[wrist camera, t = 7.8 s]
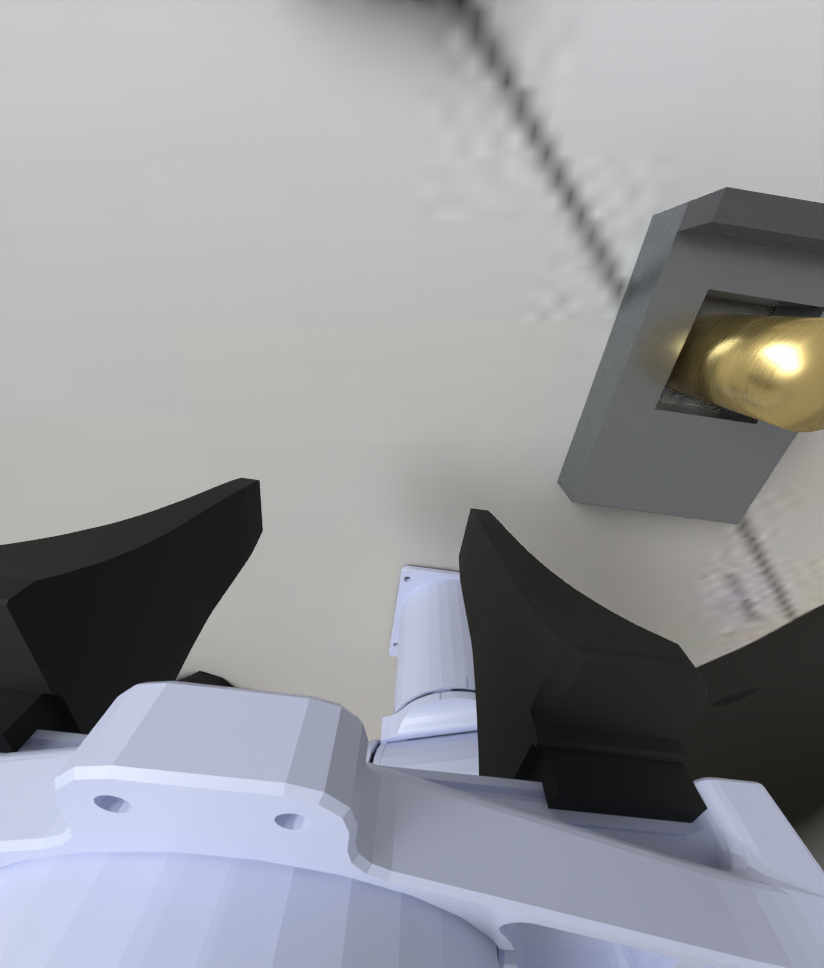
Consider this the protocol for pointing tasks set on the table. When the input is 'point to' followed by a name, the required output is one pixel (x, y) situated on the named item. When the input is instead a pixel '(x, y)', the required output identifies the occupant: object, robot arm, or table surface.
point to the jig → (658, 342)
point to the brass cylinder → (756, 367)
